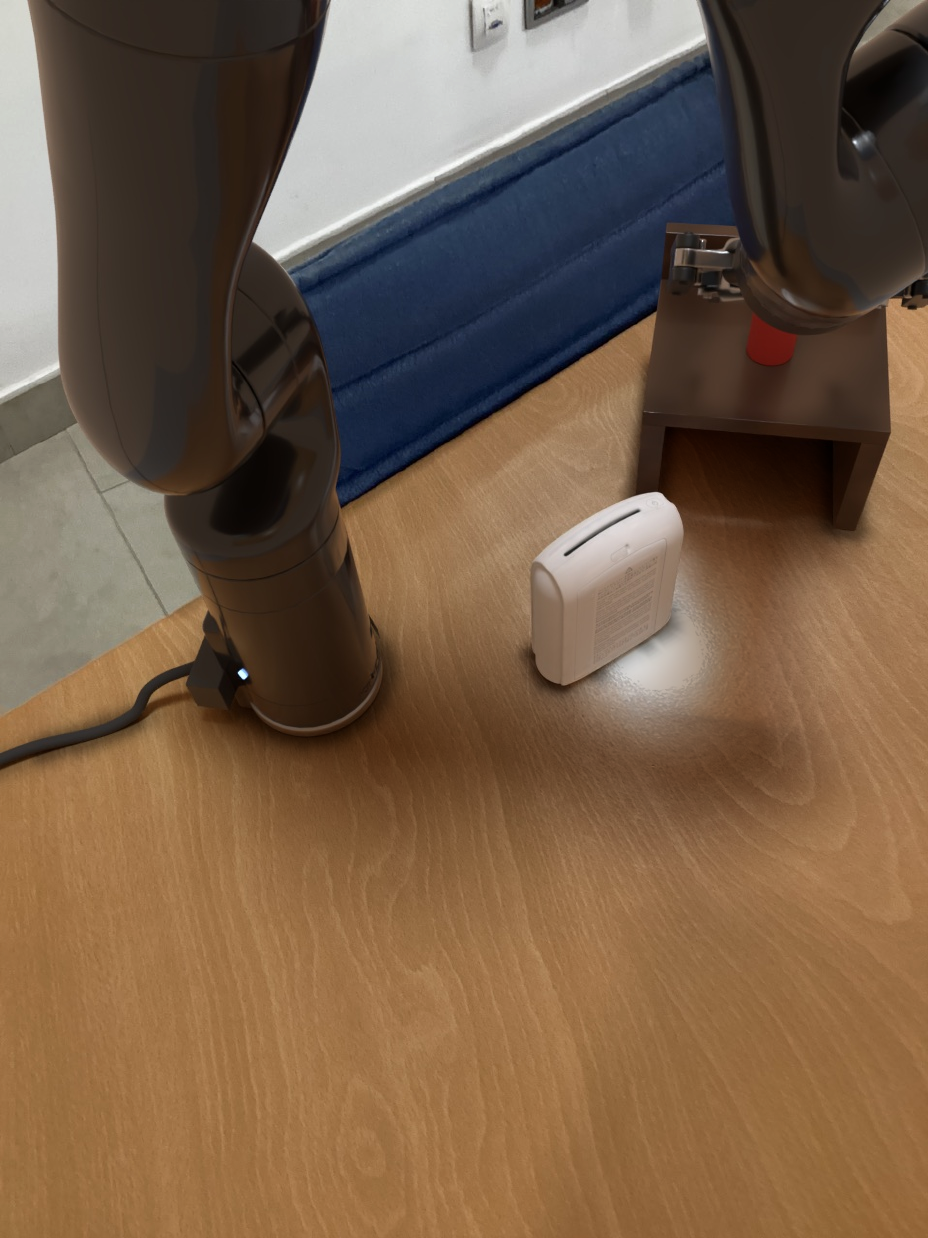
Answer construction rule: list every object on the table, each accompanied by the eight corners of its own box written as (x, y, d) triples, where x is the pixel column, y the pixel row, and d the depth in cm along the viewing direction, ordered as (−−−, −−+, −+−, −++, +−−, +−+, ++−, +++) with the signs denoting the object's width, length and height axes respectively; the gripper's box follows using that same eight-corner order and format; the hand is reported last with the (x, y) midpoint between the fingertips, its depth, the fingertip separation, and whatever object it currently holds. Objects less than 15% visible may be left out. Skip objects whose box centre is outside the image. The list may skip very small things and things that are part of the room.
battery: (745, 364, 73) (768, 239, 65) (747, 333, 75) (770, 208, 67) (793, 367, 73) (822, 242, 64) (793, 336, 74) (822, 210, 66)
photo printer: (640, 583, 76) (652, 463, 65) (679, 623, 73) (698, 505, 63) (522, 654, 73) (516, 541, 63) (559, 698, 71) (559, 588, 61)
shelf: (634, 508, 80) (646, 366, 68) (652, 369, 88) (667, 221, 76) (855, 530, 77) (908, 385, 65) (853, 385, 85) (899, 234, 74)
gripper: (1000, 165, 47) (916, 230, 63) (678, 153, 50) (674, 219, 66) (972, 337, 49) (897, 359, 65) (660, 318, 51) (661, 343, 67)
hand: (785, 288), depth 65 cm, fingers open, 8 cm apart
